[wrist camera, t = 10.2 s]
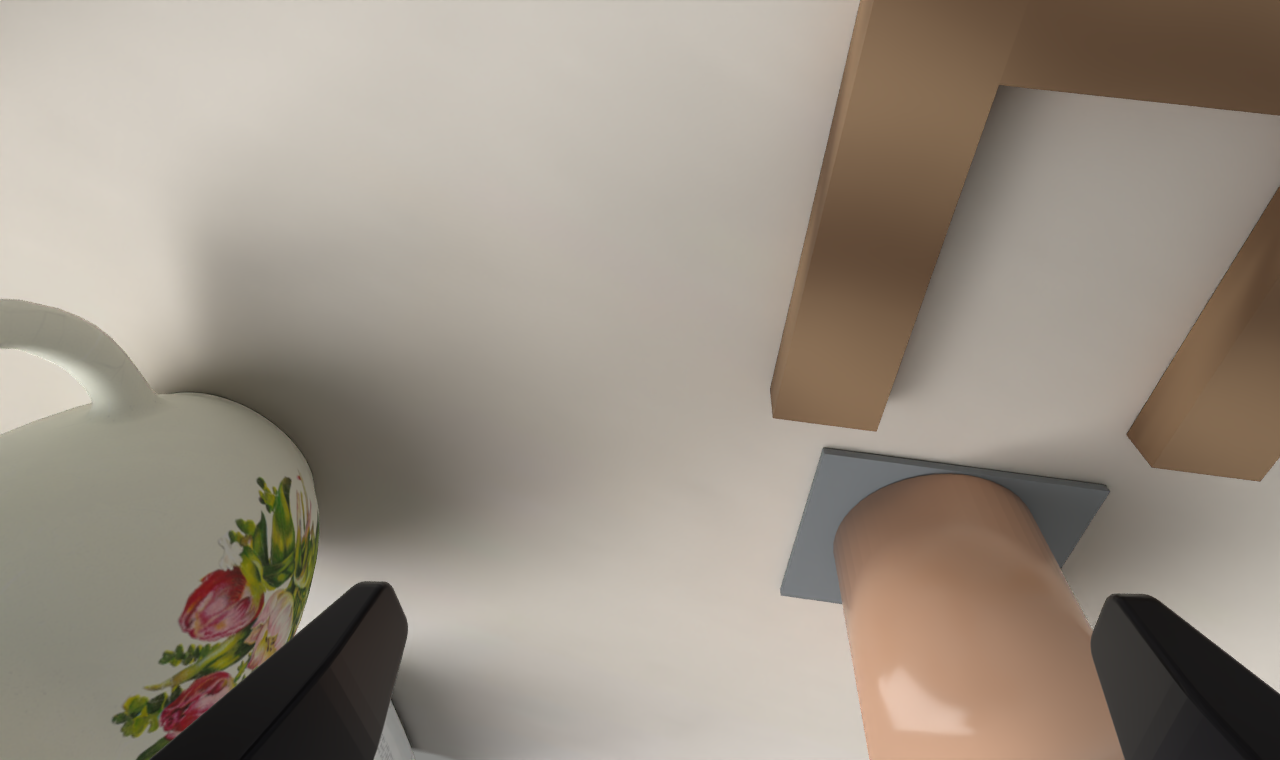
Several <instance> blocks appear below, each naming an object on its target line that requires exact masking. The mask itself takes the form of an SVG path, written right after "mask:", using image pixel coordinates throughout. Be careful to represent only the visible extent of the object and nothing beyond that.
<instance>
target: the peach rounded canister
mask: <svg viewBox="0 0 1280 760" xmlns="http://www.w3.org/2000/svg"><path fill="white" fill-rule="evenodd" d="M833 553H834V559H835V565H836V571H837V576H838V582H839V588H840V593H841V599H842V605H843V610H844V616H845V622H846V628H847V633H848V639H849V645H850V650H851V656H852V662H853V668H854V673H855V679H856V685H857V690H858V696H859V702H860V708H861V713H862V719H863V725H864V730H865V736H866V742H867V748H868V753H869V759H870V760H1124V756H1123V753H1122V750H1121V747H1120V744H1119V741H1118V737H1117V734H1116V731H1115V728H1114V725H1113V722H1112V718H1111V715H1110V712H1109V709H1108V706H1107V703H1106V699H1105V696H1104V693H1103V690H1102V687H1101V684H1100V681H1099V677H1098V674H1097V671H1096V668H1095V665H1094V662H1093V658H1092V654H1091V647H1090V642H1091V636H1092V633H1093V630H1092V629H1091V627H1090V625H1089V623H1088V621H1087V619H1086V617H1085V615H1084V613H1083V611H1082V609H1081V607H1080V605H1079V604H1078V602H1077V600H1076V598H1075V596H1074V594H1073V592H1072V590H1071V588H1070V586H1069V584H1068V582H1067V580H1066V579H1065V577H1064V575H1063V573H1062V571H1061V569H1060V567H1059V565H1058V563H1057V561H1056V559H1055V557H1054V556H1053V554H1052V552H1051V550H1050V548H1049V546H1048V544H1047V542H1046V540H1045V538H1044V536H1043V534H1042V532H1041V531H1040V529H1039V527H1038V525H1037V523H1036V521H1035V519H1034V517H1033V515H1032V513H1031V512H1030V510H1029V508H1028V507H1027V505H1026V504H1025V503H1024V502H1023V501H1022V500H1021V499H1020V498H1019V497H1018V496H1017V495H1016V494H1014V493H1013V492H1012V491H1010V490H1009V489H1007V488H1005V487H1003V486H1002V485H1000V484H997V483H995V482H992V481H990V480H986V479H983V478H979V477H975V476H969V475H962V474H932V475H924V476H918V477H914V478H909V479H905V480H902V481H899V482H896V483H893V484H890V485H888V486H886V487H883V488H881V489H879V490H877V491H876V492H874V493H872V494H870V495H869V496H867V497H866V498H864V499H863V500H862V501H860V502H859V503H858V504H857V505H856V506H855V507H853V508H852V509H851V510H850V512H849V513H848V514H847V515H846V516H845V517H844V519H843V521H842V522H841V524H840V525H839V527H838V530H837V532H836V535H835V539H834V543H833Z"/></svg>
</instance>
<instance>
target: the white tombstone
mask: <svg viewBox="0 0 1280 760" xmlns="http://www.w3.org/2000/svg"><path fill="white" fill-rule="evenodd" d="M374 760H415V757H414V754H413V751H412V749H411V746H410V744H409V741H408V739H407V736H406V734H405V731H404V729H403V727H402V724H401V722H400V720H399V717H398V715H397V713H396V711H395V708H394V706H393V704H392V701H390V705H389V709H388V712H387V716H386V720H385V724H384V728H383V731H382V735H381V738H380V742H379V745H378V749H377V752H376V754H375V757H374Z"/></svg>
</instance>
